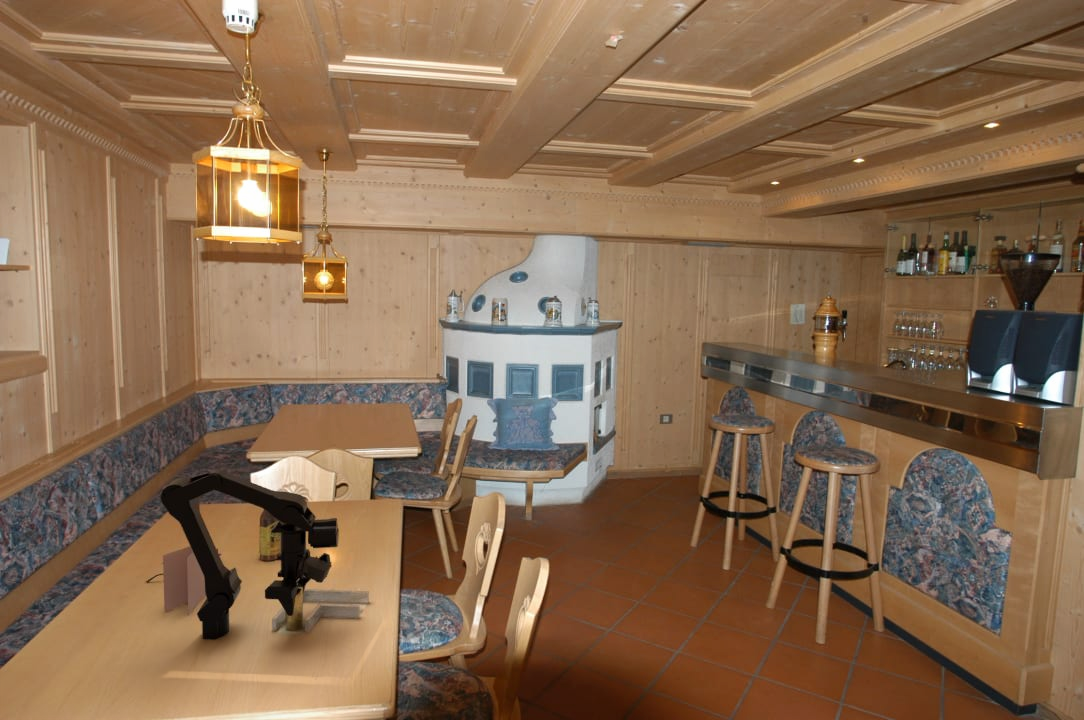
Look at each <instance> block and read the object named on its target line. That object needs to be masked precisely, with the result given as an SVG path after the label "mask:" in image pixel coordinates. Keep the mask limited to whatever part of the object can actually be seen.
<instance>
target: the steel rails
mask: <svg viewBox="0 0 1084 720" xmlns="http://www.w3.org/2000/svg"><path fill="white" fill-rule="evenodd" d="M369 600H370V591H367V590H350V589H345V590H343V589H318V588H305V590H304V593H303V602H310V603H311V602H313V603H317V605H316V606H315V607H314V609H313V610H312V611H311V612H310V613H309V615H307V616H306V618H305V619H304V621H305V630H304V632H305V633H310V632H311V631H312V630H313V628H314V627H315V625H316V624H317V623H318V622H319V620H320V619H321V618H335V619H359V618H360V617H361V615H360V605H344V604H365V605H367V604H369V603H370V601H369ZM336 603H337V604H336ZM339 603H340V604H339ZM284 623H285V610H284V608H283V607H282V606H281V608H280V609H279V610H278V611H277V613H276V614H274V616H273V617H272V618H271V631H273V632H274V631H275V632H276V631H277V632H278V630H279V629H280V628H281V627H282V626H283V624H284Z"/></svg>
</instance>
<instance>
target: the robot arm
mask: <svg viewBox="0 0 1084 720" xmlns="http://www.w3.org/2000/svg"><path fill="white" fill-rule="evenodd" d="M213 491H217V492H219V493H221V494H225V495H227V496H230V497H232V498H235V499H237V500H240V501H242V502H245V503H248V504H251V505H252V506H256V507H257V508H261V509H262V510H263V511H264V510H266V511H267V512H268V513H270V514H271V515H272V516H273V517H274V518H276V519H278V520H279V522H278V523H277V524H276V525H275V526H274V527H273V529H272V531H271V532H272V533H280V536H281V553H280V554H279V555H278V556H277V559H276V560H277V561H280V570H279V571H277V578H282V579H281V580H277V579H275V580H273V582H272V583H270V584H269V585H268V586H267V588H265V589H264V598H265V600H278V601H279V603H280V604H281V608H282V607H283V608H284V610H285V612H286V613H287V615H288V616H292V615H293V611H294V605H295V598H296V595H297V594H298V593H299V592H300V591H301V590H302V589H298V584H301V585H302V586H303V593H304V590H305V589H306V587H307V586H306V585H307V584H308V583H309V582H310V581H311V580H314V581H315V582H316V583H323V582H324V580H325V579H326V578H327V577H328V574H329V572H330V569H331V568H332V567H333V566H332V561H331V557H330V554H328V553H326V552H324V553H322V554H321V555H320V556H319V557H318V556H311V550H310V548H308V549H307V544H308V545H309V546H310V547H312V548H313V549H325V548H329V549H330V548H338V547H339V538H340V536H339V535H340V530H339V529H340V528H339V525H338V518H336V517H332V518H325V519H324V518H322V519H316V518H317V516H316V515H315V514H314V512H312V510H311V509H310V507H309V506H308V503H307V500H306V498H305V497H304V496H303V495H302V494H299V493H293V492H289V491H282V490H281V491H280V490H273V489H269V488H267V487H265V486H262V485H259V484H256V483H254V482H251V481H248V480H246V479H244V478H242V477H239V476H236V475H234V474H231V473H228V472H226V471H225V470H223V469H220V468H218V469H217V468H216V469H214V470H211V471H209V472H206V473H201V474H198V475H195V476H193V477H190V478H189V477H179V478H176V479H175V480H172V482H171V483H169V484H168V485H167V486H166V487H165V488H163V490H162V492H161V494H160V502H161V505H163V507H164V509H165V510H166V511H167V512H168V514H169V516H171V517H172V518H174V520H176V521H177V522H178V523H179V525H180V526H181V528H182V531H183V533H184V535H185V537H186V539H187V542H188V544H189V546H191V549H192V551H193V553H194V555H195V557H196V560H197V562H198V564H199V566H200V568H201V571H202V573H203V575H204V579H205V594H206V596H205V597H206V598H205V601H204V602H203V603H202V605H201V607H200V608H199V610H198V611H197V613H196V615H197V618H198V620H199V622H201V626H202V627H201V628H202V629H201V630H202V631H201V635H202V636H201V637H202V640H218V639H221V638H222V637H225V636H226V635H228V634H229V633H230V609H231V608H232V607H233V606H234V603H235V601H237V598H238V596H239V595H240V593H241V590H242V587H241V584H242V583H243V580H242V579H240V577H239V574H238V571H237V568H236V567H233V568H231V569H229V568H228V567H226V566H225V565H224V563H223V560H222V558H221V557H220V556H219V551H218V552H217V548H216V545H215V543H214V541H213V538H212V536H211V534H210V532H209V529H208V528H207V527H208V526H207V525H206V523H205V520H204V518H203V517H202V514H201V509H200V497H201V496H204V495H205V494H206V495H207V494H208V493H211V492H213Z"/></svg>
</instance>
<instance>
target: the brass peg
mask: <svg viewBox="0 0 1084 720" xmlns="http://www.w3.org/2000/svg"><path fill="white" fill-rule="evenodd" d="M298 589H302V590H301V591H300V592H299V593H298V594H297V595H296V598H295V605H294V611H293V615H292V616H288V615H287V613H286V612H285V621H284V623H285V629H286V630H287V631H296V630H299V629H301V628H302V627H303V621H304V608H303V606H304V605H303V604H304V601H303V586H302V585H301V584H298Z"/></svg>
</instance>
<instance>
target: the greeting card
mask: <svg viewBox="0 0 1084 720" xmlns="http://www.w3.org/2000/svg"><path fill="white" fill-rule="evenodd" d="M162 563H163V564H162V566H163V567H162V568H163V569H162V571H163V573H162V574H163V575H162V576H163V603H164V604H163V607H164V608H163V610H164V613H166V611H167V612H169V611H171V609H172V610H174V609H176V607H177V608H178V606H179V607H181V606H183V604H184V605H186V604H187V612H188V613H187V615H188V616H190V615H191V613H192V612H193V611H194V610H195V609H196V608H197V606H198V605H199V604H200V603H201V602H200V601H203V599H204V598H205V597H206V594H205V579H204V575H203V573H202V571H201V568H200V566H199V564H198V562H197V560H196V557H195V555H194V553H193V551H192V549H191V546H190V545H189V546H187V547H186V546H185V547H184V548H181V549H177V550H174V551H172V552H168V553H165V554H163V555H162ZM199 602H200V603H199ZM180 605H181V606H180ZM173 608H174V609H173ZM194 608H195V609H194ZM193 609H194V610H193ZM168 610H169V611H168ZM192 610H193V611H192ZM191 611H192V612H191Z"/></svg>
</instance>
